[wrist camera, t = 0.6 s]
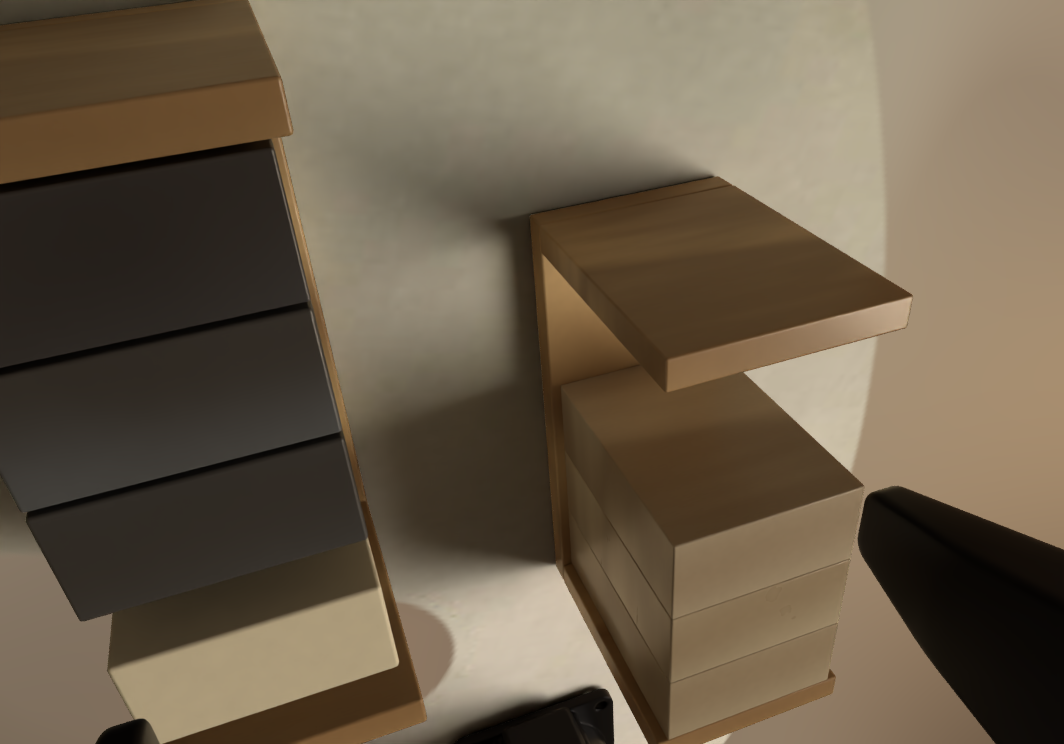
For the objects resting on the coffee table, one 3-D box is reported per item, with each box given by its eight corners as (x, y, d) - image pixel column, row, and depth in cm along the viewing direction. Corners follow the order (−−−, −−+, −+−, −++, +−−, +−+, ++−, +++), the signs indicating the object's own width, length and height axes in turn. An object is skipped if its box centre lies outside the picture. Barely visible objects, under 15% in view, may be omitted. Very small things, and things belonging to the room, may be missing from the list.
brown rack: (700, 520, 30) (833, 693, 24) (555, 565, 29) (657, 762, 23) (718, 175, 23) (915, 295, 17) (528, 213, 22) (665, 359, 16)
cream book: (348, 468, 23) (400, 667, 17) (157, 519, 22) (148, 750, 16) (330, 397, 22) (381, 587, 16) (126, 447, 21) (104, 671, 15)
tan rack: (367, 503, 25) (428, 722, 19) (169, 557, 24) (165, 814, 17) (246, -7, 17) (280, 75, 11) (-57, 31, 16) (-214, 149, 10)
